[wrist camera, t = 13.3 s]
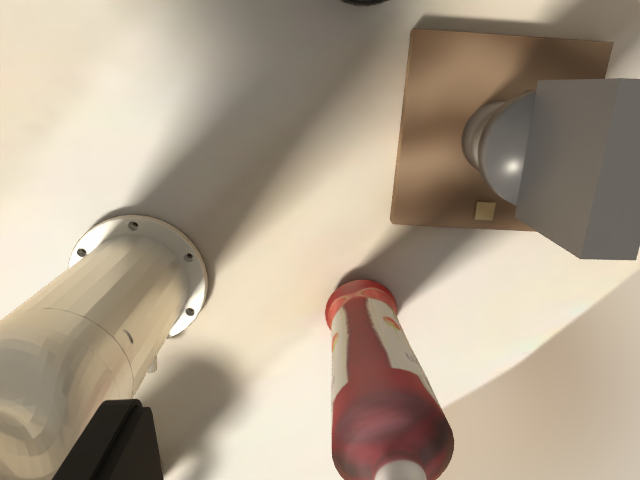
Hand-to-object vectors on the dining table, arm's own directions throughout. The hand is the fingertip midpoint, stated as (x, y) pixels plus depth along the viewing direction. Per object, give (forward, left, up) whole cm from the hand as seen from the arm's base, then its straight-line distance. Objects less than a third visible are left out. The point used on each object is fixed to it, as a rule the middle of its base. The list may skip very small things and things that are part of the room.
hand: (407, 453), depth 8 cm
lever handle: (+3, -14, -26) cm, 30 cm away
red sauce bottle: (-14, -4, -34) cm, 37 cm away
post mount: (+3, -14, -34) cm, 37 cm away
